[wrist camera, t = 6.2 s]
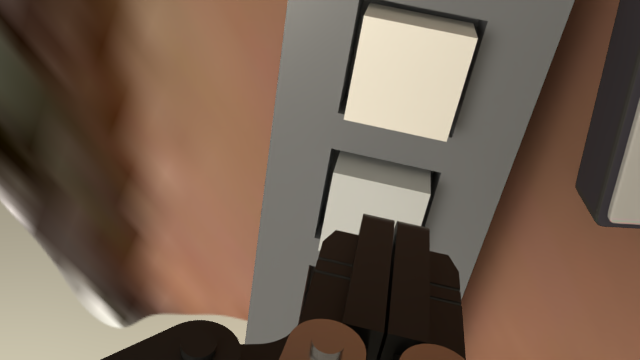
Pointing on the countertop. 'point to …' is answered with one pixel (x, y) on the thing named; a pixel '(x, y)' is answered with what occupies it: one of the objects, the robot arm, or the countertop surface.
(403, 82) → the white key
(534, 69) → the keypad
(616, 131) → the button control panel
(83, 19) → the countertop surface
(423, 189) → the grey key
